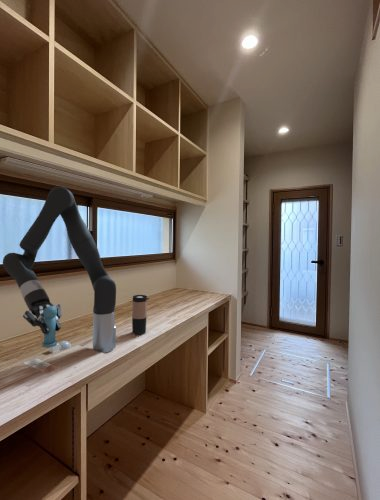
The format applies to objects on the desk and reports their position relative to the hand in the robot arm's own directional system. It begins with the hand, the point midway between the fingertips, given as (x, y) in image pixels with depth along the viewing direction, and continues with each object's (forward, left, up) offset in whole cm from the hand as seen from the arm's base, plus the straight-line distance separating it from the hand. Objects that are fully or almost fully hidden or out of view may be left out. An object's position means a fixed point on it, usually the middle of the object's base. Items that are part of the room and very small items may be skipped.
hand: (53, 331), depth 93 cm
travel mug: (-50, -1, -16) cm, 53 cm away
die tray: (-13, -15, -18) cm, 27 cm away
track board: (0, -7, -16) cm, 18 cm away
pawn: (0, -2, -6) cm, 6 cm away
